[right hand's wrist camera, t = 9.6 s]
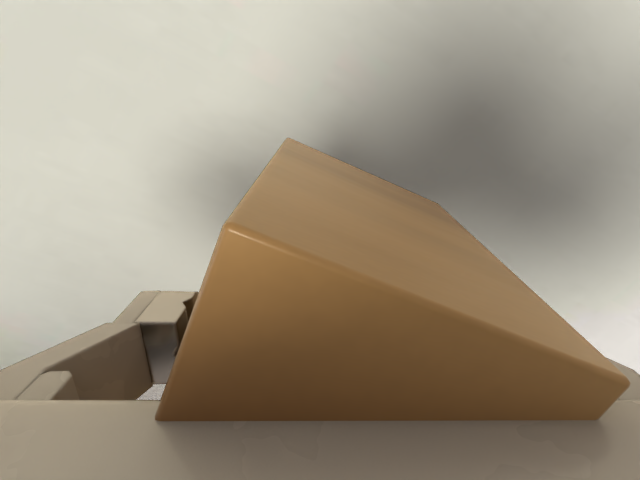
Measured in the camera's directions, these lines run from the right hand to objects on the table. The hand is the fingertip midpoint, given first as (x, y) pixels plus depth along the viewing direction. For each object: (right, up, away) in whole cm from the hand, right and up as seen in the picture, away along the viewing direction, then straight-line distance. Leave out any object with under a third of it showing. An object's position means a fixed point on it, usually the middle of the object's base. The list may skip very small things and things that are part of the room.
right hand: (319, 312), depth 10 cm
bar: (-3, -6, +5) cm, 8 cm away
